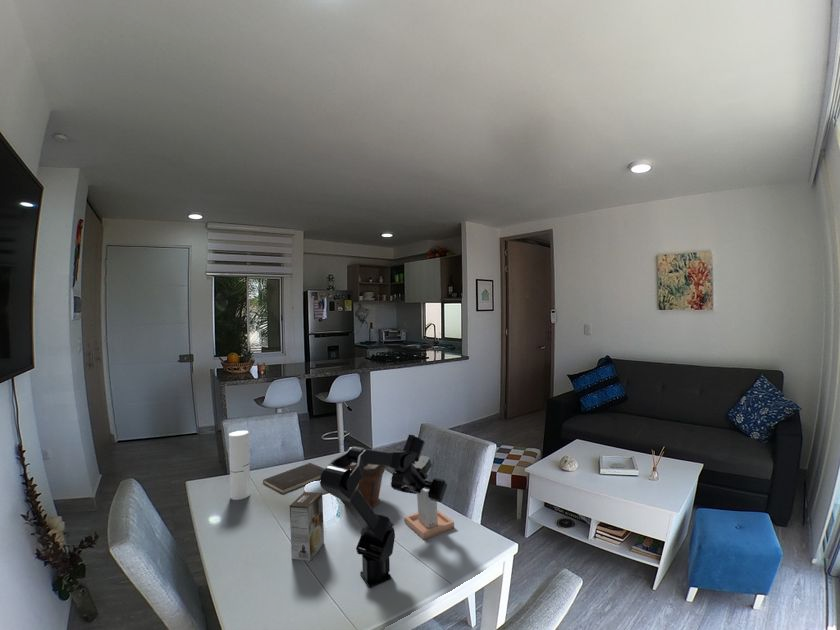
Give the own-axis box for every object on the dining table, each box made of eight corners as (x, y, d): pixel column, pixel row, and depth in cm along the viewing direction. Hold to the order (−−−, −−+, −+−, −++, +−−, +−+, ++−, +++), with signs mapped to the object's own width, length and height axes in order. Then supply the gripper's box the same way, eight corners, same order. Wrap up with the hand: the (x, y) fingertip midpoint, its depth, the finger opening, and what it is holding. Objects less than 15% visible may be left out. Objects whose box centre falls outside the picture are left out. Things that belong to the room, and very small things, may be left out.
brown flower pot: (392, 490, 157) (390, 446, 157) (378, 517, 137) (375, 466, 137) (349, 489, 160) (347, 445, 160) (330, 514, 140) (327, 465, 140)
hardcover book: (330, 475, 174) (330, 470, 174) (282, 495, 157) (282, 489, 157) (309, 467, 185) (309, 462, 185) (263, 484, 167) (262, 479, 167)
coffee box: (305, 541, 124) (304, 490, 124) (324, 543, 122) (323, 492, 122) (290, 559, 115) (289, 505, 115) (310, 561, 113) (309, 506, 113)
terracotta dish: (423, 539, 123) (423, 533, 123) (404, 522, 133) (404, 517, 133) (454, 527, 129) (454, 521, 129) (433, 512, 139) (433, 506, 139)
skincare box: (438, 524, 130) (437, 488, 130) (427, 529, 127) (426, 492, 127) (428, 516, 135) (427, 481, 135) (417, 520, 133) (416, 485, 132)
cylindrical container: (254, 493, 157) (252, 432, 157) (237, 501, 151) (235, 437, 151) (243, 489, 161) (241, 429, 161) (226, 497, 155) (225, 434, 155)
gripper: (443, 455, 121) (460, 478, 131) (395, 445, 131) (414, 467, 141) (431, 491, 115) (449, 512, 124) (381, 477, 125) (401, 498, 134)
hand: (428, 495), depth 131 cm, fingers open, 9 cm apart
